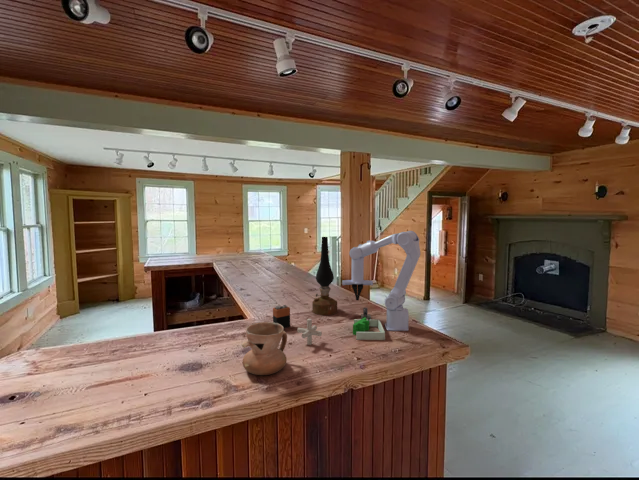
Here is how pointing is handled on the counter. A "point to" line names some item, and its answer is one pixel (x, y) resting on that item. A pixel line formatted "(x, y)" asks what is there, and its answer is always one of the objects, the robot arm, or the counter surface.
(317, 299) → the oil lamp
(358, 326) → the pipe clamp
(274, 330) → the ceramic jug
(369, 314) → the pin mount
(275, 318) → the battery
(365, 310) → the pin
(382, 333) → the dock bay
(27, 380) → the counter surface
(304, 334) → the pipe connector
